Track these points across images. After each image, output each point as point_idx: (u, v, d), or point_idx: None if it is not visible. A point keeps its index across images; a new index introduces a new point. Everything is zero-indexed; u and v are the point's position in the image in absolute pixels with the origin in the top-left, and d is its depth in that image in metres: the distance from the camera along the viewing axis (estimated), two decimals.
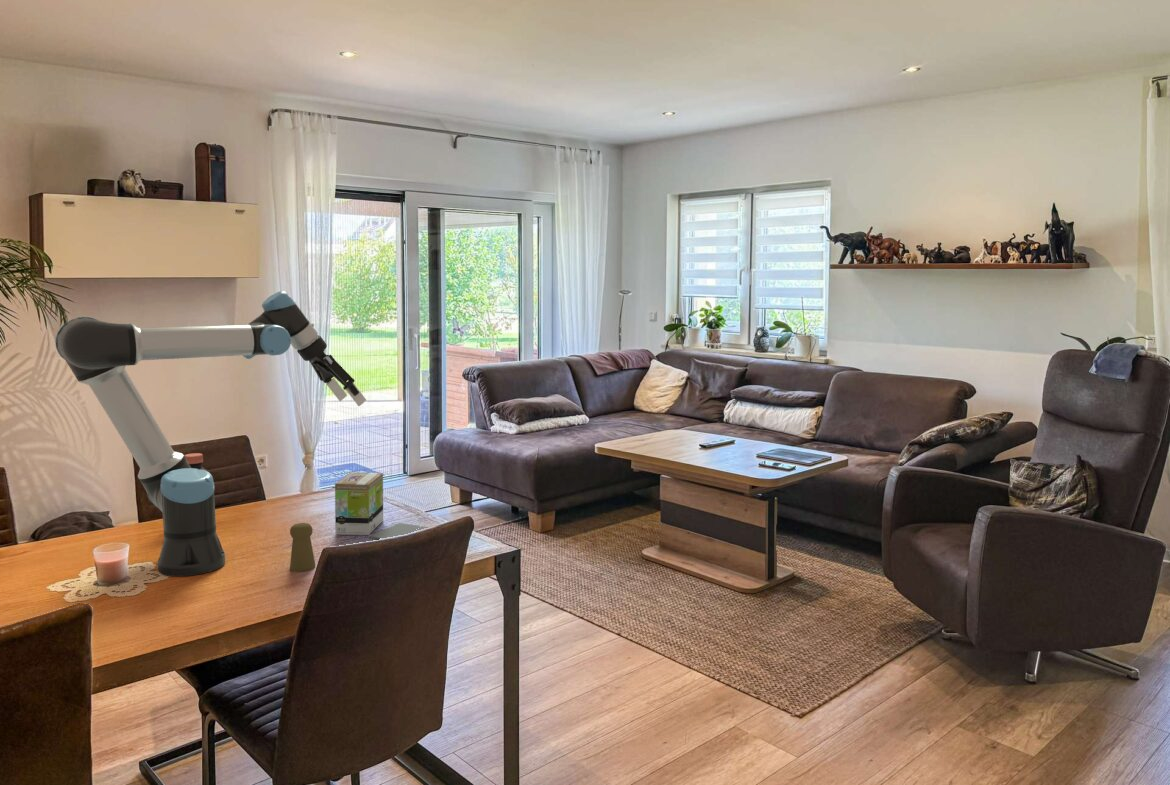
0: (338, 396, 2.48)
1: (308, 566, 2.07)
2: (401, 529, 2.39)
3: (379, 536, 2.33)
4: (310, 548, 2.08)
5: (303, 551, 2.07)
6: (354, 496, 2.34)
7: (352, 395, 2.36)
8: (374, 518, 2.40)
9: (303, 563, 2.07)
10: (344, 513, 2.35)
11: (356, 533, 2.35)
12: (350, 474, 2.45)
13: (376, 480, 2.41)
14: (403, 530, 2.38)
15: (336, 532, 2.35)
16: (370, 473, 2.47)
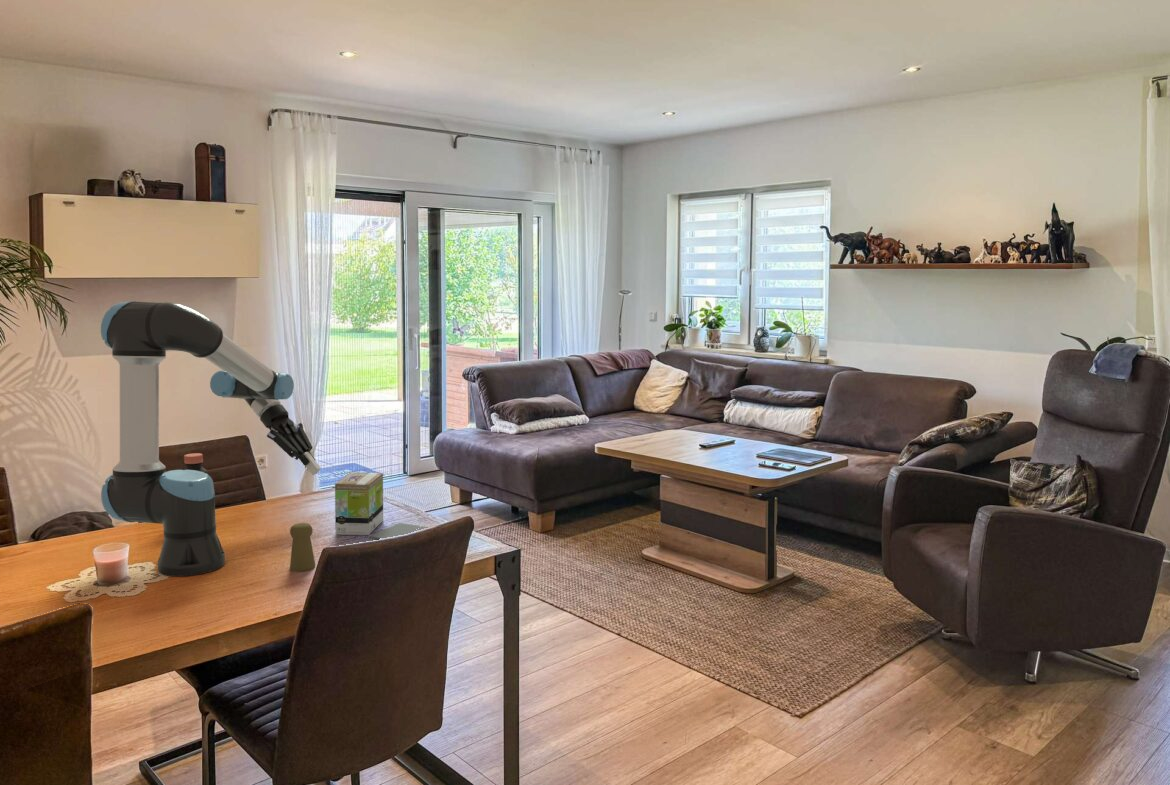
0: None
1: (308, 566, 2.07)
2: (401, 529, 2.39)
3: (379, 536, 2.33)
4: (310, 548, 2.08)
5: (303, 551, 2.07)
6: (354, 496, 2.34)
7: None
8: (374, 518, 2.40)
9: (303, 563, 2.07)
10: (344, 513, 2.35)
11: (356, 533, 2.35)
12: (350, 474, 2.45)
13: (376, 480, 2.41)
14: (403, 530, 2.38)
15: (336, 532, 2.35)
16: (370, 473, 2.47)
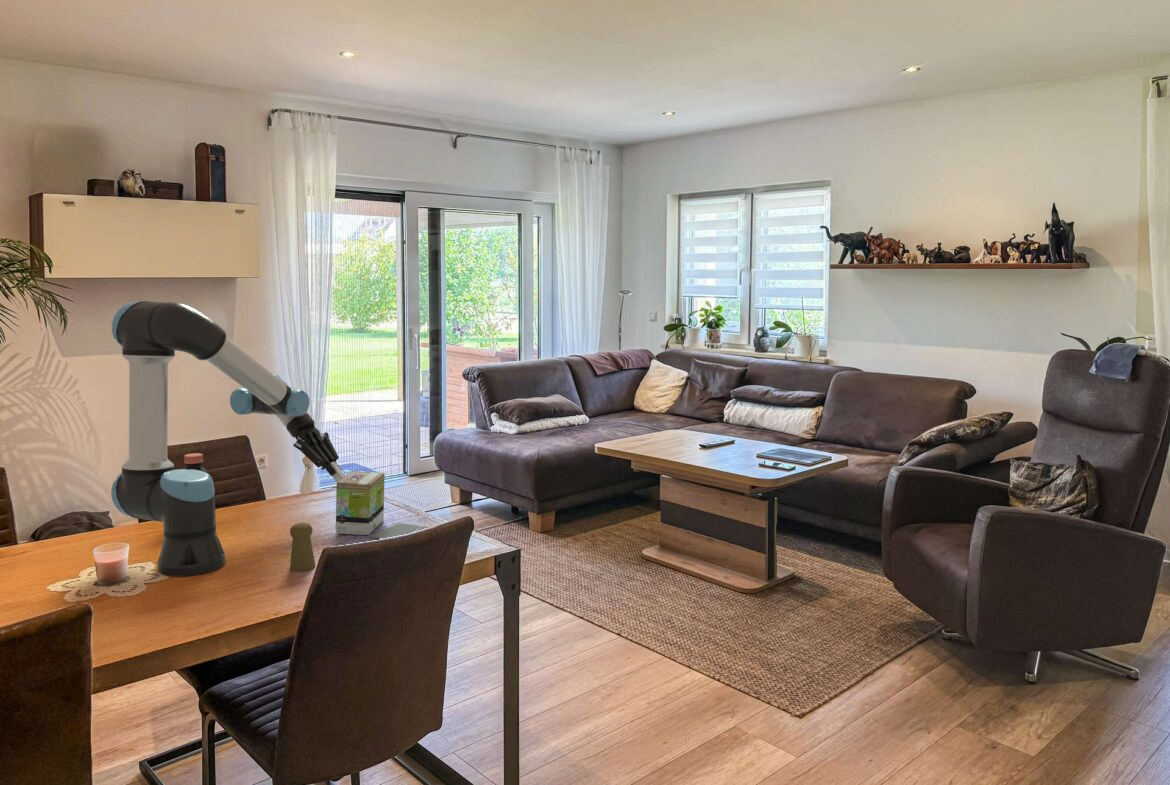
0: None
1: (308, 566, 2.07)
2: (401, 529, 2.39)
3: (379, 536, 2.33)
4: (310, 548, 2.08)
5: (303, 551, 2.07)
6: (355, 495, 2.34)
7: None
8: (374, 518, 2.40)
9: (303, 563, 2.07)
10: (345, 512, 2.35)
11: (356, 532, 2.35)
12: (352, 473, 2.45)
13: (378, 480, 2.41)
14: (403, 530, 2.38)
15: (336, 531, 2.35)
16: (372, 473, 2.47)
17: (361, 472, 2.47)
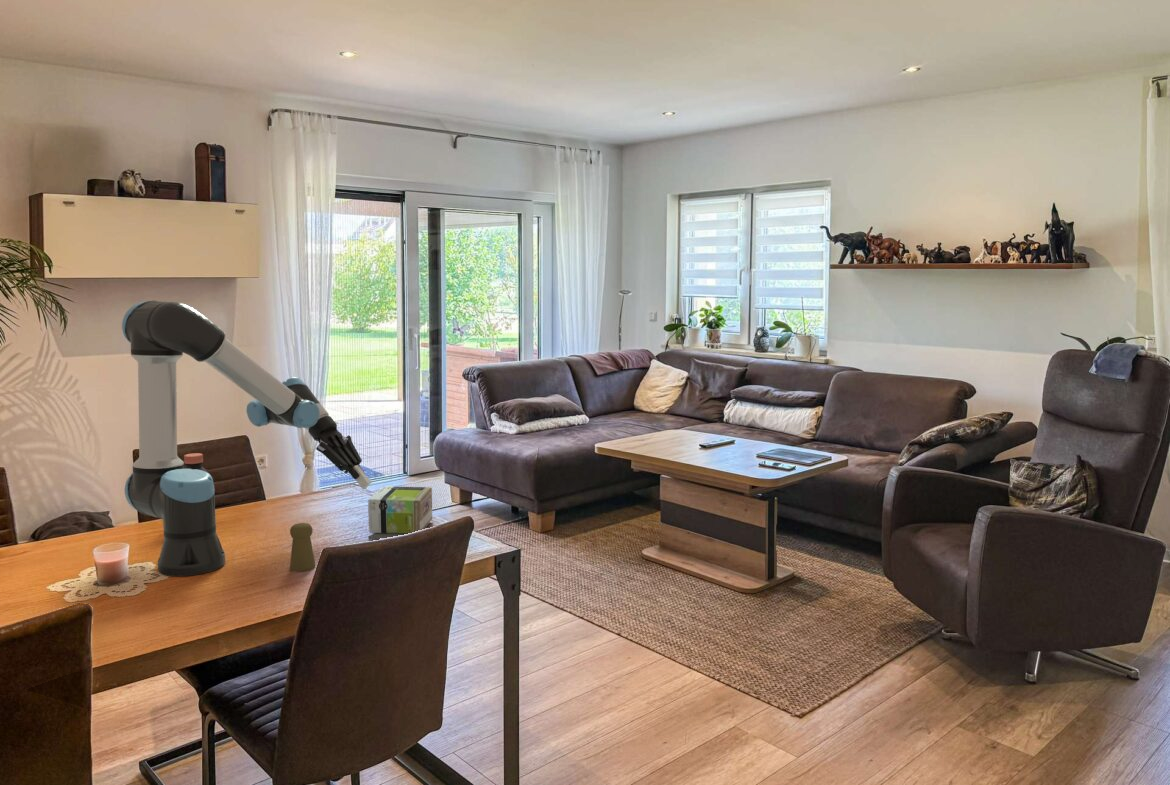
0: None
1: (308, 566, 2.07)
2: None
3: (379, 536, 2.33)
4: (310, 548, 2.08)
5: (303, 551, 2.07)
6: (407, 519, 2.34)
7: None
8: None
9: (303, 563, 2.07)
10: (389, 509, 2.34)
11: (370, 520, 2.35)
12: (429, 493, 2.45)
13: None
14: None
15: (370, 500, 2.34)
16: (431, 510, 2.47)
17: (431, 499, 2.47)
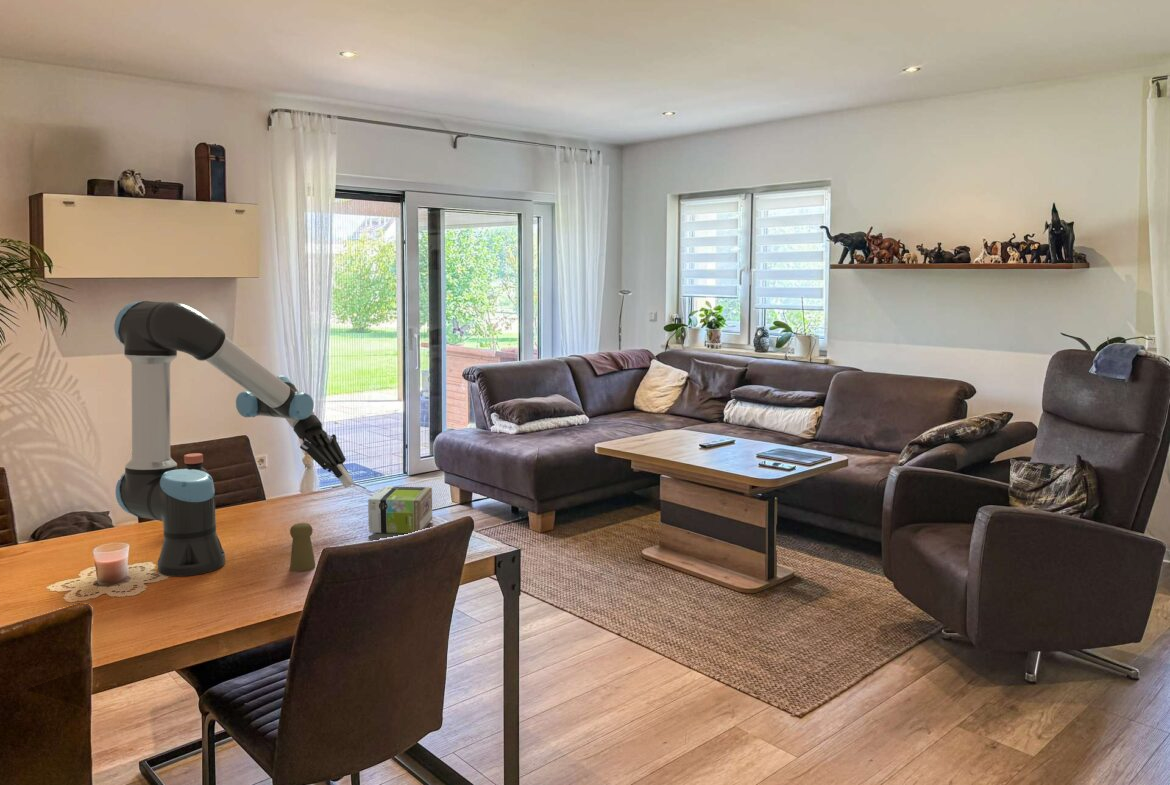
0: None
1: (308, 566, 2.07)
2: None
3: (379, 536, 2.33)
4: (310, 548, 2.08)
5: (303, 551, 2.07)
6: (407, 519, 2.34)
7: None
8: None
9: (303, 563, 2.07)
10: (389, 509, 2.34)
11: (370, 520, 2.35)
12: (429, 493, 2.45)
13: None
14: None
15: (370, 500, 2.34)
16: (431, 510, 2.47)
17: (431, 499, 2.47)
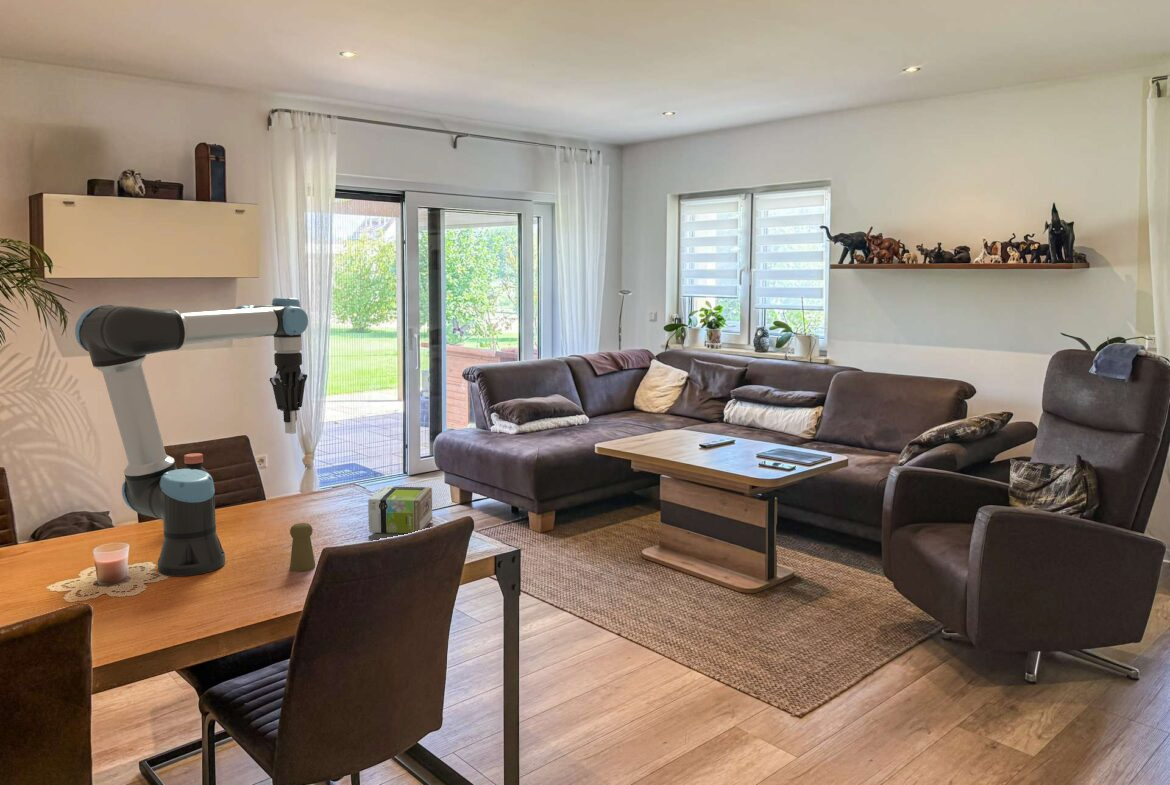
0: None
1: (308, 566, 2.07)
2: None
3: (379, 536, 2.33)
4: (310, 548, 2.08)
5: (303, 551, 2.07)
6: (407, 519, 2.34)
7: None
8: None
9: (303, 563, 2.07)
10: (389, 509, 2.34)
11: (370, 520, 2.35)
12: (429, 493, 2.45)
13: None
14: None
15: (370, 500, 2.34)
16: (431, 510, 2.47)
17: (431, 499, 2.47)
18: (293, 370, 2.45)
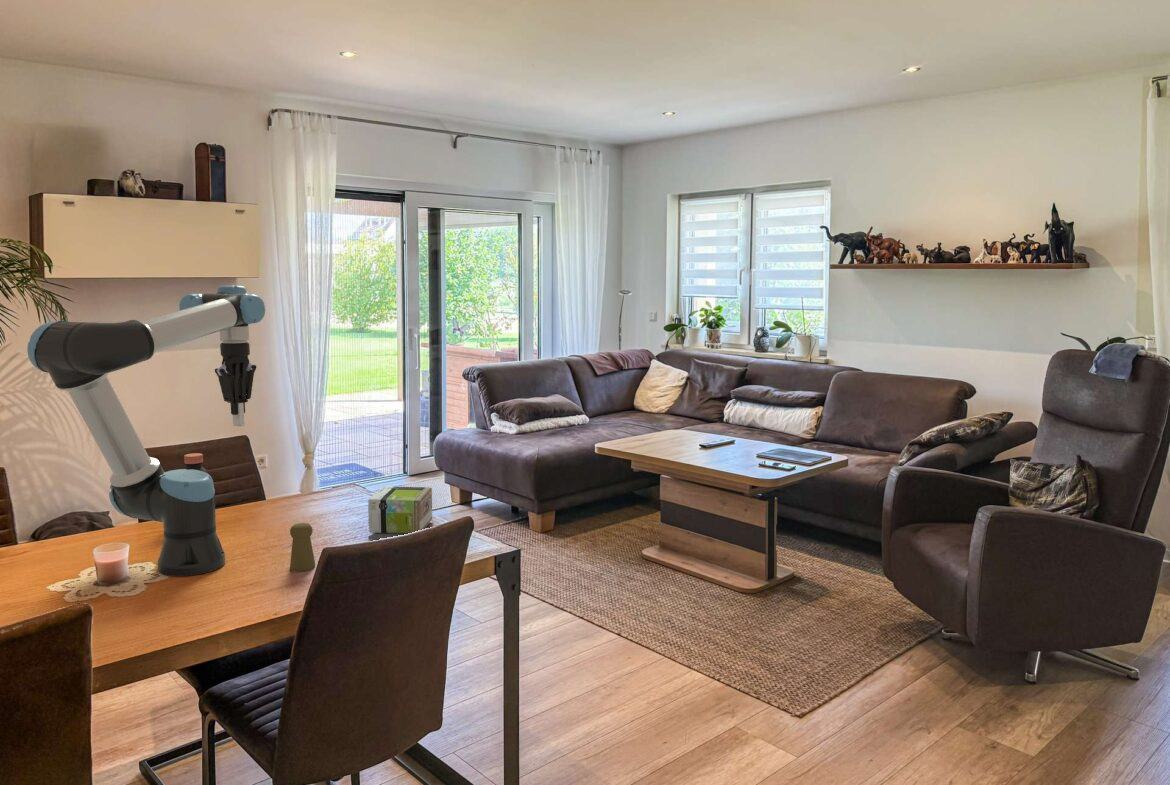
0: None
1: (308, 566, 2.07)
2: None
3: (379, 536, 2.33)
4: (310, 548, 2.08)
5: (303, 551, 2.07)
6: (407, 519, 2.34)
7: None
8: None
9: (303, 563, 2.07)
10: (389, 509, 2.34)
11: (370, 520, 2.35)
12: (429, 493, 2.45)
13: None
14: None
15: (370, 500, 2.34)
16: (431, 510, 2.47)
17: (431, 499, 2.47)
18: (240, 361, 2.36)
